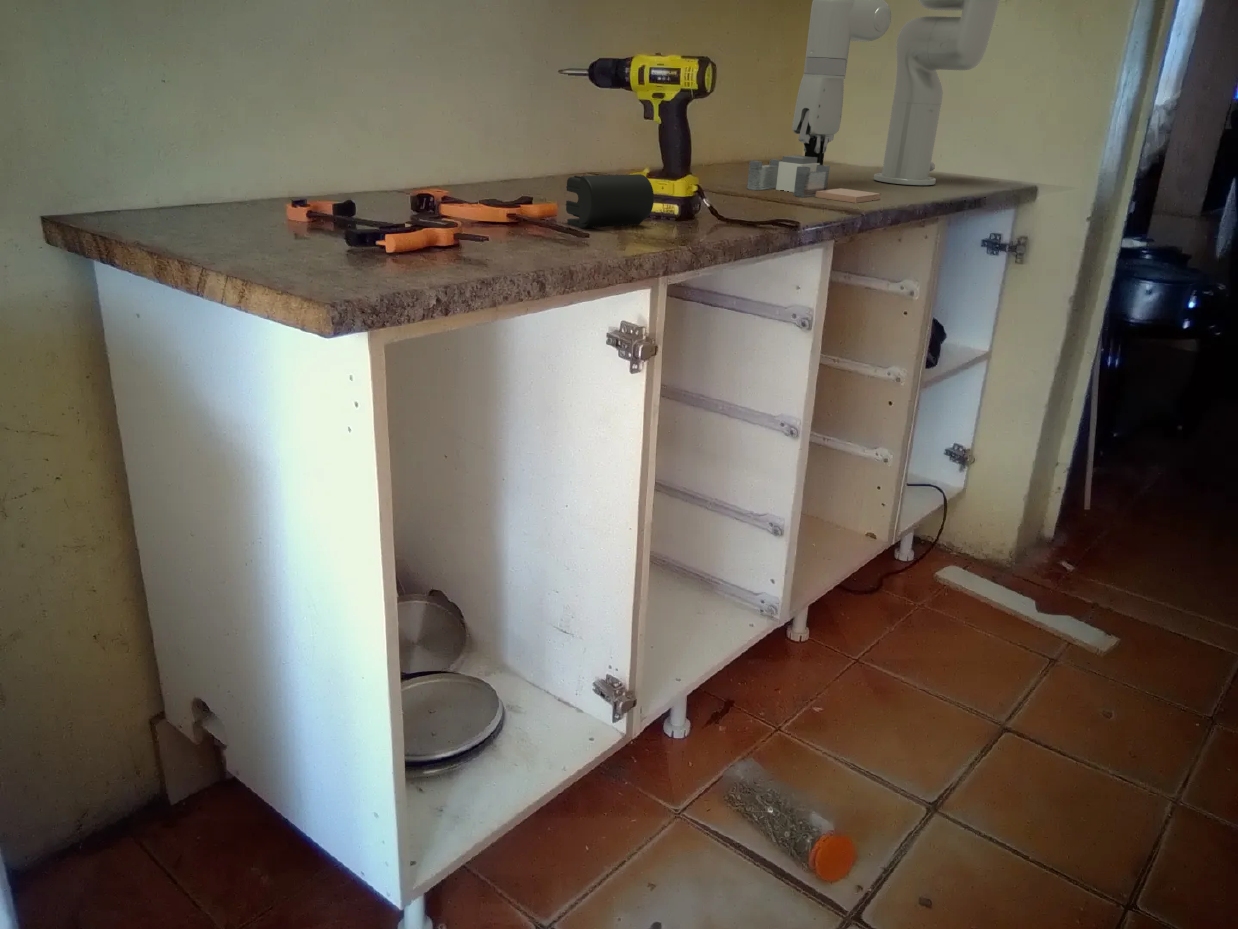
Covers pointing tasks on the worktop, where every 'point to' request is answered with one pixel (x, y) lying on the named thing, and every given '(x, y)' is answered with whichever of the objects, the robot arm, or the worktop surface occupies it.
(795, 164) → the white box with lid
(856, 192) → the pad
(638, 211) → the end cap
